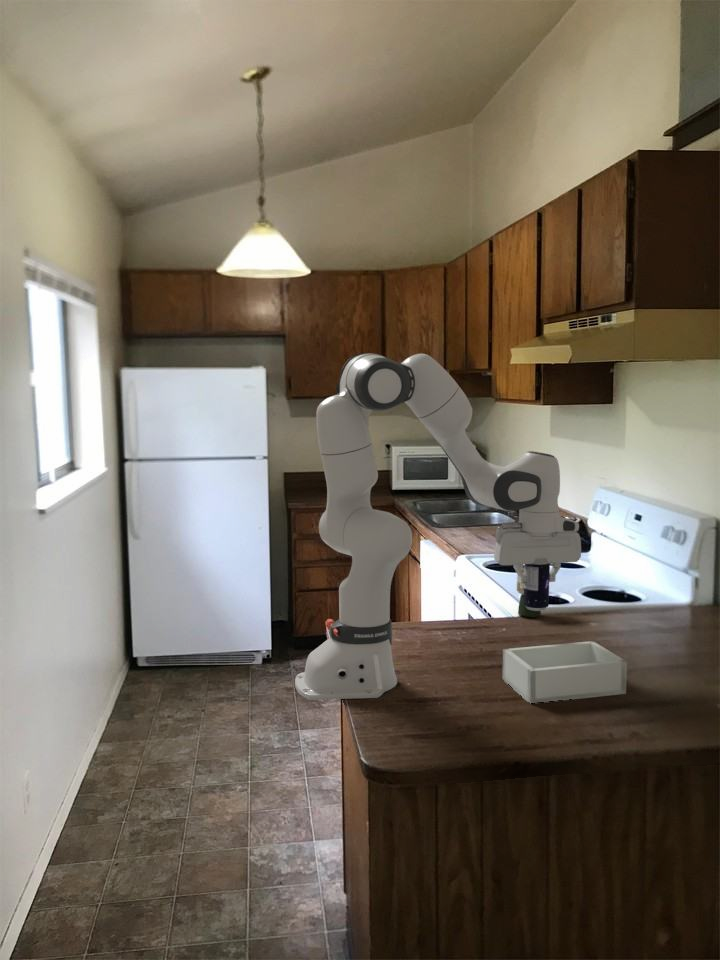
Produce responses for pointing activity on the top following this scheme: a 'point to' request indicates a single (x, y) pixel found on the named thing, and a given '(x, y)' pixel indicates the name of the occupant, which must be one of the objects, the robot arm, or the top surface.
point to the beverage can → (537, 585)
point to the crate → (564, 671)
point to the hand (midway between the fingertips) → (536, 582)
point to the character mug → (522, 607)
